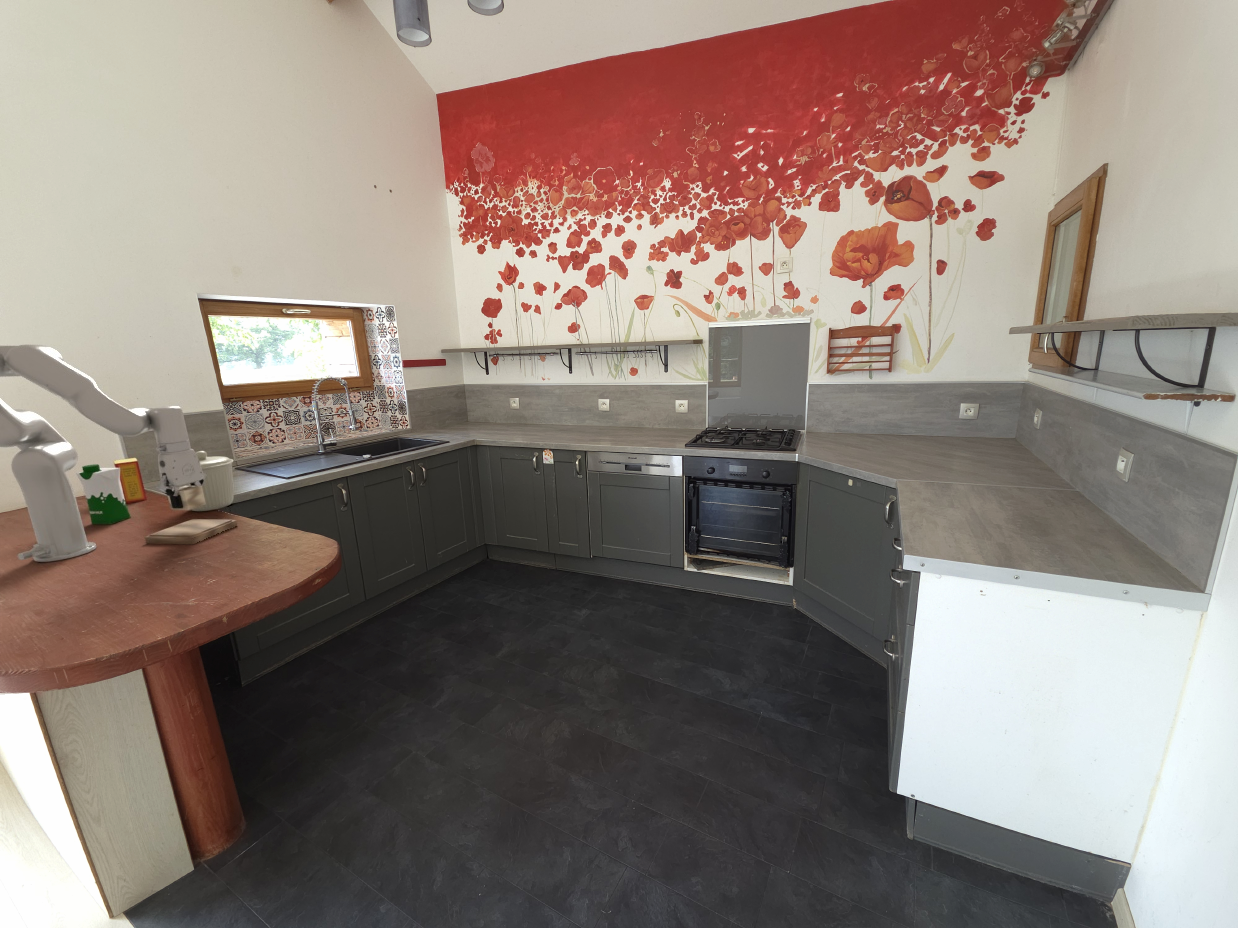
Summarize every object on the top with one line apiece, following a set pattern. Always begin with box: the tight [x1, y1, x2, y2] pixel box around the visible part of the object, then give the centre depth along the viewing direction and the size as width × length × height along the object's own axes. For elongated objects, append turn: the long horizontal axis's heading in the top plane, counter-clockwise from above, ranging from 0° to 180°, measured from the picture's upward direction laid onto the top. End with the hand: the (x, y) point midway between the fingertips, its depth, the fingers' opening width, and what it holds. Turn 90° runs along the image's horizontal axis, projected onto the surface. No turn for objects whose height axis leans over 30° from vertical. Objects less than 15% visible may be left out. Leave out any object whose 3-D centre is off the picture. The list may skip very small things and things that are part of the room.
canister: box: [179, 450, 235, 512], centre depth 192 cm, size 18×18×21 cm
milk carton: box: [76, 463, 132, 525], centre depth 179 cm, size 9×9×20 cm
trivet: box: [144, 518, 238, 545], centre depth 165 cm, size 16×16×2 cm
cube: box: [167, 486, 206, 511], centre depth 163 cm, size 6×6×6 cm
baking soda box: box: [112, 457, 148, 504], centre depth 206 cm, size 10×6×16 cm
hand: (188, 504), depth 163 cm, fingers closed on cube, 6 cm apart
